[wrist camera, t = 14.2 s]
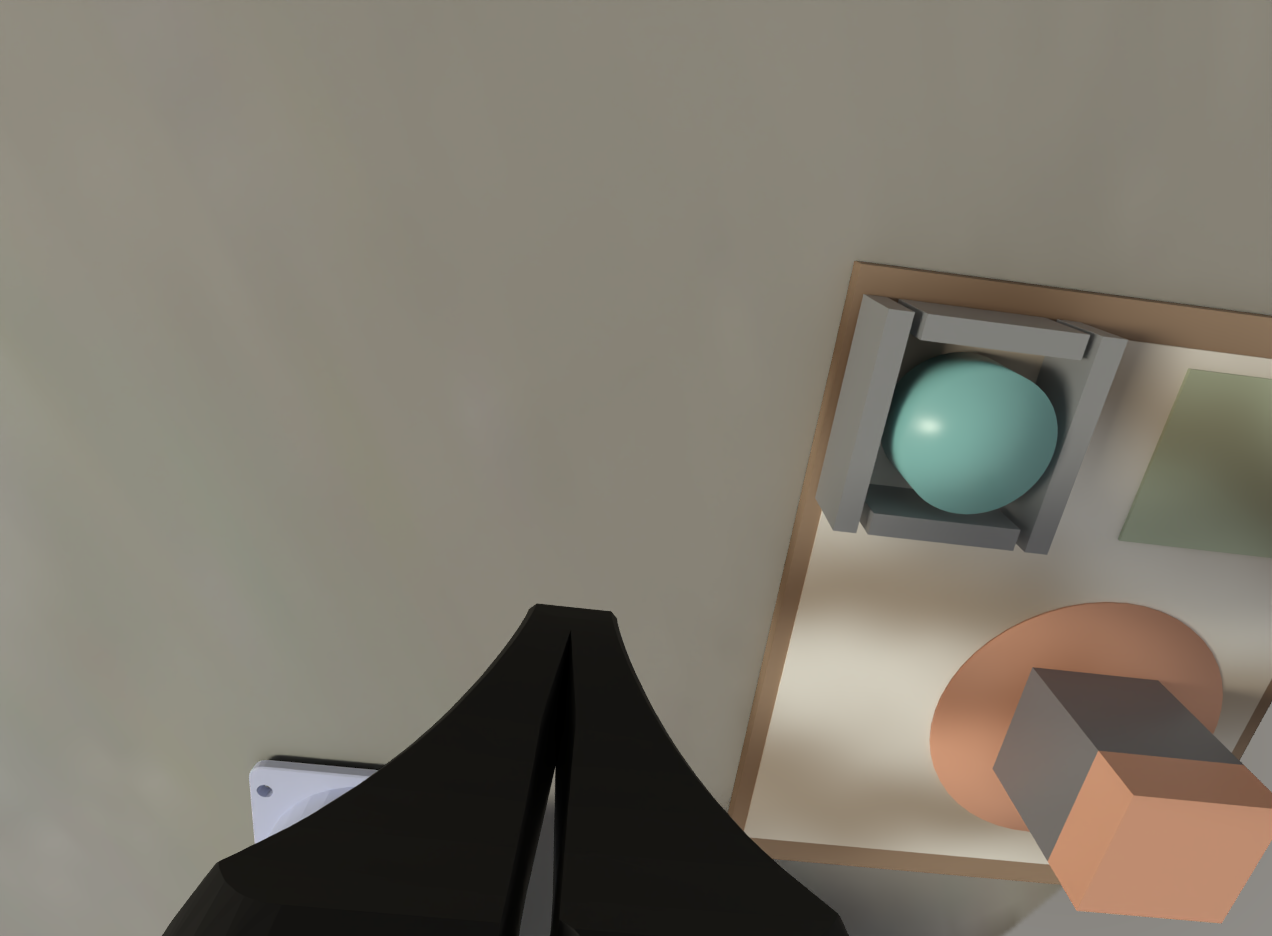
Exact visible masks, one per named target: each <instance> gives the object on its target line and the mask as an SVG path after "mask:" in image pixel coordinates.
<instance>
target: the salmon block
mask: <svg viewBox="0 0 1272 936" xmlns="http://www.w3.org/2000/svg"><path fill="white" fill-rule="evenodd" d="M993 770H994V772H995V774H996V775H997V777H998V779H999V780H1000V782H1001V784H1002V785H1003V787H1004V789H1005V791H1006V792H1007V794H1008V796H1009V797H1010V799H1011V801H1012V802H1013V804H1014V806H1015V807H1016V809H1017V811H1018V812H1019V814H1020V816H1021V818H1022V819H1023V821H1024V823H1025V824H1026V826H1027V828H1028V829H1029V831H1030V833H1031V834H1032V836H1033V838H1034V839H1035V841H1036V843H1037V845H1038V846H1039V848H1040V850H1041V851H1042V853H1043V855H1044V856H1045V858H1046V860H1047V861H1048V863H1049V865H1050V866H1051V868H1052V870H1053V872H1054V873H1055V875H1056V877H1057V878H1058V880H1059V882H1060V883H1061V885H1062V887H1063V888H1064V890H1065V892H1066V893H1067V895H1068V897H1069V898H1070V900H1071V902H1072V904H1073V905H1074V907H1075V908H1076V910H1077V911H1086V912H1097V913H1110V914H1120V915H1132V916H1143V917H1155V918H1166V919H1177V920H1189V921H1200V922H1212V923H1222V922H1223V920H1224V918H1225V917H1226V915H1227V914H1228V912H1229V910H1230V909H1231V907H1232V905H1233V904H1234V902H1235V900H1236V899H1237V897H1238V895H1239V894H1240V892H1241V890H1242V889H1243V887H1244V885H1245V884H1246V882H1247V881H1248V879H1249V877H1250V876H1251V874H1252V872H1253V870H1254V869H1255V867H1256V865H1257V864H1258V862H1259V860H1260V859H1261V857H1262V856H1263V854H1264V852H1265V851H1266V849H1267V847H1268V846H1269V844H1270V842H1271V841H1272V793H1271V791H1270V790H1269V789H1268V788H1266V786H1264V785H1263V784H1262V783H1261V782H1260V781H1259V780H1258V779H1257V778H1256V777H1255V776H1254V775H1253V774H1252V773H1251V772H1250V771H1249V770H1248V769H1247V768H1246V767H1245V766H1244V765H1243V764H1242V763H1241V762H1240V761H1239V760H1238V759H1237V758H1236V757H1235V756H1234V755H1233V754H1232V753H1231V752H1230V751H1229V750H1228V749H1227V748H1226V747H1225V746H1224V745H1223V744H1222V743H1221V742H1220V741H1219V740H1218V739H1217V738H1216V737H1215V736H1214V735H1213V734H1212V733H1211V732H1210V731H1209V730H1208V729H1207V728H1206V727H1205V726H1204V725H1203V724H1202V723H1201V722H1200V721H1199V720H1198V719H1197V718H1196V717H1195V716H1194V715H1193V714H1192V713H1191V712H1190V711H1189V710H1188V709H1187V708H1186V707H1185V706H1184V705H1183V704H1182V703H1181V702H1180V701H1179V700H1178V699H1177V698H1176V697H1175V696H1174V695H1173V694H1172V693H1170V692H1169V691H1168V690H1167V689H1166V688H1165V687H1164V686H1163V685H1162V684H1161V683H1160V682H1159V681H1158V680H1150V679H1140V678H1131V677H1121V676H1111V675H1102V674H1092V673H1083V672H1073V671H1064V670H1054V669H1045V668H1035V667H1032V670H1031V672H1030V675H1029V677H1028V680H1027V682H1026V685H1025V687H1024V690H1023V692H1022V695H1021V698H1020V700H1019V703H1018V705H1017V708H1016V710H1015V713H1014V715H1013V718H1012V720H1011V723H1010V725H1009V728H1008V730H1007V733H1006V736H1005V738H1004V741H1003V743H1002V746H1001V748H1000V751H999V753H998V756H997V758H996V761H995V763H994V766H993Z"/></svg>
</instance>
